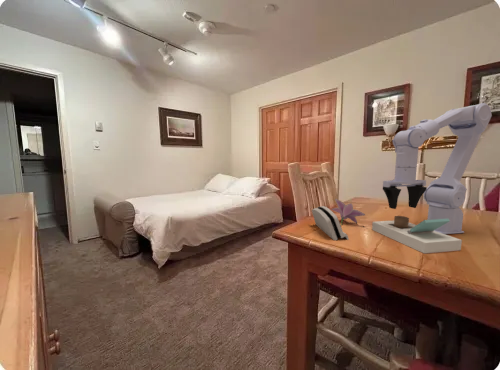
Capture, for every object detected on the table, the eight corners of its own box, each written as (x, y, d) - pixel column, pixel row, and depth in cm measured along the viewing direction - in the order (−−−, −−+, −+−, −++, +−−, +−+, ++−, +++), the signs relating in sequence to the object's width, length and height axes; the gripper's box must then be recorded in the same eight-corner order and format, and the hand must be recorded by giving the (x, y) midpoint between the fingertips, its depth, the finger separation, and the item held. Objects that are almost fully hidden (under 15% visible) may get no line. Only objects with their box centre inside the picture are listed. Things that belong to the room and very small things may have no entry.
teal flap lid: (430, 229, 68) (448, 218, 62) (431, 232, 67) (450, 221, 61) (406, 231, 66) (423, 219, 61) (408, 233, 66) (425, 222, 60)
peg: (400, 232, 76) (401, 215, 75) (410, 236, 72) (412, 218, 71) (390, 232, 75) (391, 216, 74) (399, 236, 71) (401, 219, 71)
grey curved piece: (349, 240, 69) (340, 211, 68) (335, 245, 69) (326, 216, 67) (328, 224, 85) (320, 201, 84) (316, 228, 85) (309, 205, 84)
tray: (400, 227, 80) (401, 220, 80) (460, 250, 61) (461, 239, 60) (372, 229, 78) (372, 221, 78) (424, 253, 59) (425, 242, 59)
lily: (367, 231, 80) (371, 207, 82) (340, 221, 78) (345, 196, 80) (345, 231, 91) (349, 209, 94) (321, 222, 89) (326, 200, 92)
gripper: (413, 166, 76) (410, 204, 77) (377, 167, 73) (374, 206, 75) (433, 167, 69) (429, 208, 71) (393, 168, 67) (390, 210, 68)
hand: (402, 207), depth 72 cm, fingers open, 7 cm apart
